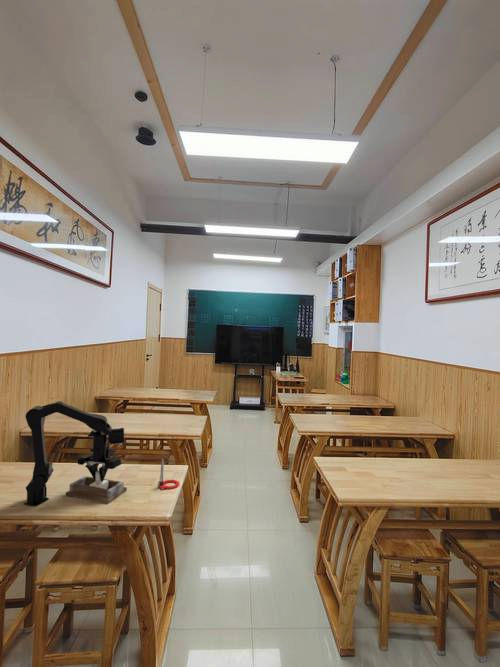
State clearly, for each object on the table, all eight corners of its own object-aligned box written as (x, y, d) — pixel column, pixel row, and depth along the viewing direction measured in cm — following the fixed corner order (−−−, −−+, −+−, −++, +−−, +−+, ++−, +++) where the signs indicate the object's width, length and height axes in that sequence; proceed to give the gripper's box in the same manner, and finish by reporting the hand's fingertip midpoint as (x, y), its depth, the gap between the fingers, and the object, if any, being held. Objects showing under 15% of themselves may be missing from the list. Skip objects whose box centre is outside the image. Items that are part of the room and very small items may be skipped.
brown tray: (108, 503, 136) (108, 493, 136) (65, 496, 142) (65, 485, 142) (126, 490, 148) (126, 480, 148) (86, 484, 154) (86, 474, 154)
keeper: (98, 493, 141) (99, 475, 141) (89, 491, 142) (89, 473, 142) (108, 487, 147) (108, 469, 147) (99, 485, 148) (99, 468, 148)
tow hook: (176, 481, 160) (157, 483, 156) (178, 454, 160) (159, 456, 156) (181, 488, 152) (160, 491, 148) (183, 460, 152) (162, 462, 148)
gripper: (129, 441, 150) (128, 475, 150) (95, 437, 155) (94, 470, 155) (112, 449, 139) (112, 486, 139) (76, 445, 144) (76, 480, 144)
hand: (99, 480), depth 145 cm, fingers closed on keeper, 3 cm apart
